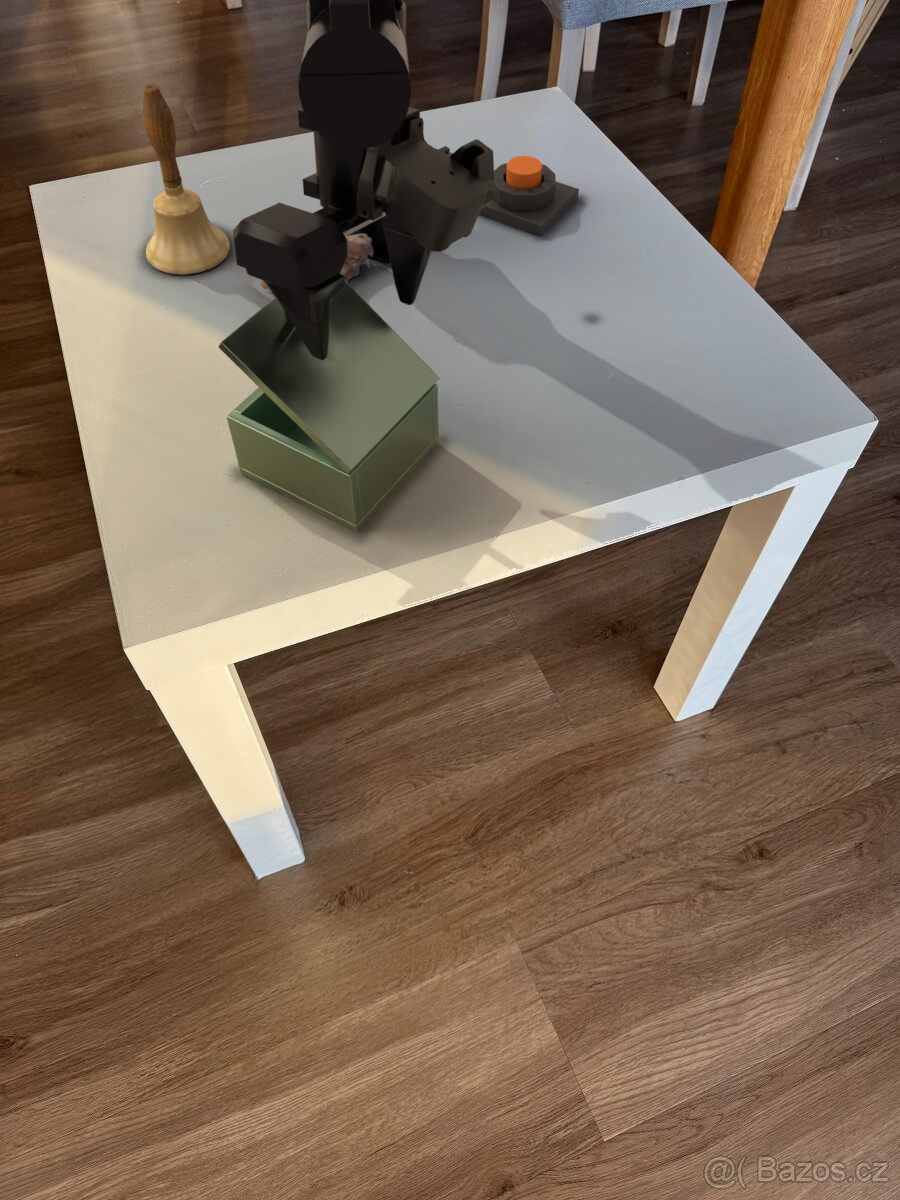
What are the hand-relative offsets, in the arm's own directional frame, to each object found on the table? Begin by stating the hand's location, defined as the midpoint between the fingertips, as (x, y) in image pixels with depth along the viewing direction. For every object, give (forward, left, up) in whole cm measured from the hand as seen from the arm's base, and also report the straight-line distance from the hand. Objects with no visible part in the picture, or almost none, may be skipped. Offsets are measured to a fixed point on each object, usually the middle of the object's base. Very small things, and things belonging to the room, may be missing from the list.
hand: (365, 329), depth 68 cm
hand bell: (-32, +13, -13) cm, 37 cm away
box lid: (-2, -2, -3) cm, 4 cm away
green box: (-2, -2, -12) cm, 13 cm away
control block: (-8, +38, -12) cm, 41 cm away
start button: (-8, +38, -10) cm, 40 cm away
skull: (-19, +16, -13) cm, 28 cm away
